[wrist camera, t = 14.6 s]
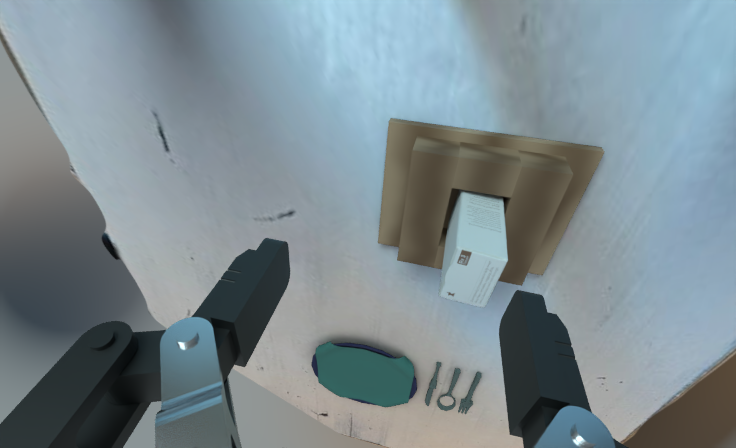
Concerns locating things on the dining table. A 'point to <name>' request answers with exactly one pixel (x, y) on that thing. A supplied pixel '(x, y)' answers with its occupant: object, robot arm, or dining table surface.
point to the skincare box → (474, 248)
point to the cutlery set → (375, 376)
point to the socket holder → (480, 190)
